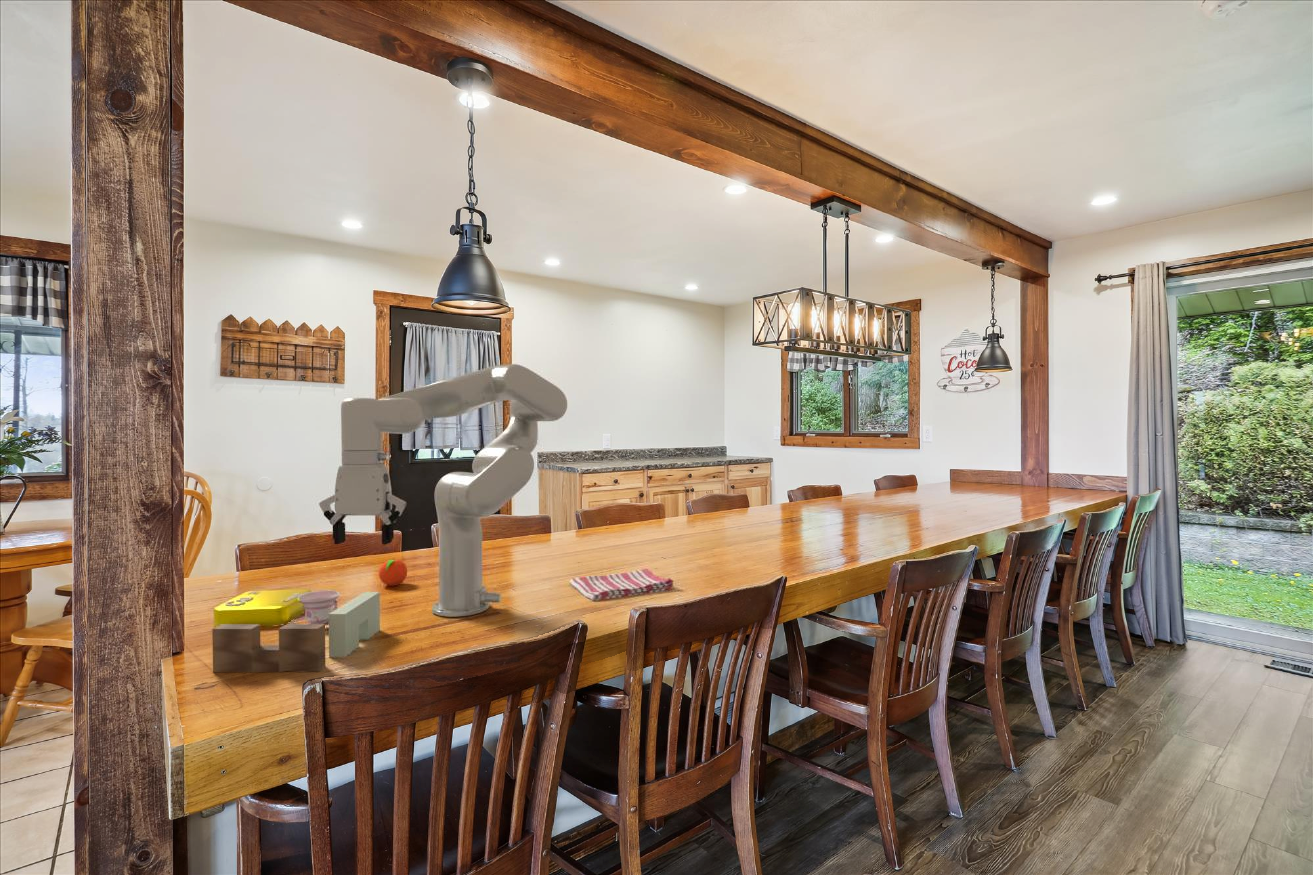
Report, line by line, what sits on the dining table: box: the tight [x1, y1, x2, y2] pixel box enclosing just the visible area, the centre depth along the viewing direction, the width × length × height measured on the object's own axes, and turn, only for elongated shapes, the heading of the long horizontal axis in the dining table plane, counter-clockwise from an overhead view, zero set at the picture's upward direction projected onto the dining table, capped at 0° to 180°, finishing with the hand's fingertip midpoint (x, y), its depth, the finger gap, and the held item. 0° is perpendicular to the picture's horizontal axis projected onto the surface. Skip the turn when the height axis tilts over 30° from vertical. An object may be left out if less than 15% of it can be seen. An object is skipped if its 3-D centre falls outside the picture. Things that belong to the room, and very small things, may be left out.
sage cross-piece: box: [328, 591, 381, 658], centre depth 123 cm, size 3×15×8 cm, turn 1°
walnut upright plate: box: [211, 623, 326, 673], centre depth 110 cm, size 18×2×8 cm, turn 91°
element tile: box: [212, 589, 312, 628], centre depth 140 cm, size 15×15×5 cm
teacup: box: [288, 589, 341, 630], centre depth 136 cm, size 12×12×6 cm
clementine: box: [378, 558, 408, 587], centre depth 166 cm, size 8×7×7 cm
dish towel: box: [569, 568, 674, 602], centre depth 165 cm, size 17×23×4 cm
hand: (363, 543), depth 128 cm, fingers open, 9 cm apart
